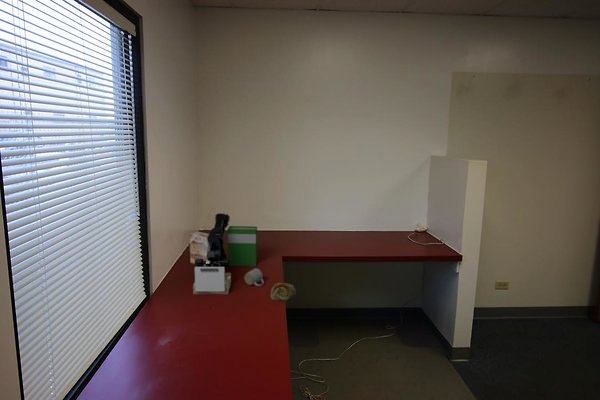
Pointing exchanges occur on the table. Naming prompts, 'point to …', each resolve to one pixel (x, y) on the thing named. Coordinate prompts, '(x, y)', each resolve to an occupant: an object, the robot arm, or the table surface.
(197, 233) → the coffeecake box
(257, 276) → the ceramic mug
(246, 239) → the hardback book
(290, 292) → the pastry
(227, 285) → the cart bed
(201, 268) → the panel
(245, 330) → the table surface
